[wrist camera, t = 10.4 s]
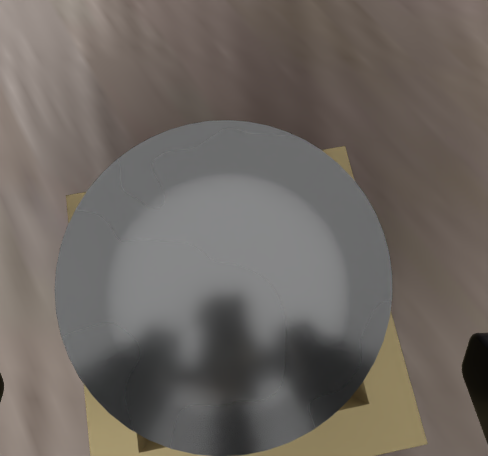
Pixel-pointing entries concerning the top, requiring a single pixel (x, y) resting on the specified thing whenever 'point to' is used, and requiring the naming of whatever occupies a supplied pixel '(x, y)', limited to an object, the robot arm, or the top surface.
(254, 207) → the metal tumbler
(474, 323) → the top surface
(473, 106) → the top surface
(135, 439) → the collar block
